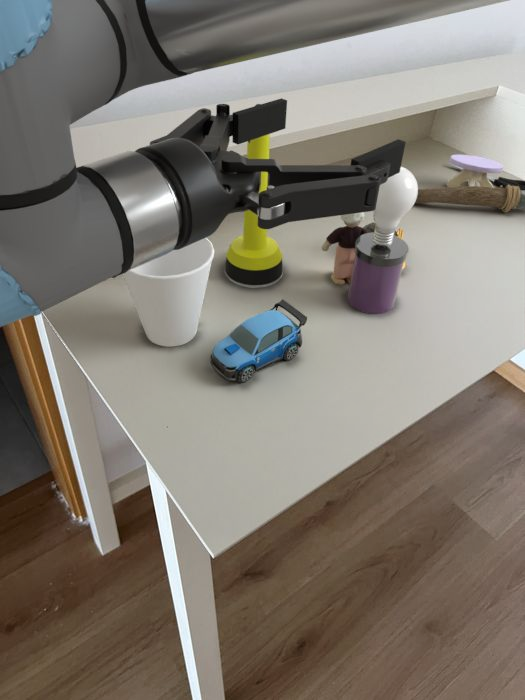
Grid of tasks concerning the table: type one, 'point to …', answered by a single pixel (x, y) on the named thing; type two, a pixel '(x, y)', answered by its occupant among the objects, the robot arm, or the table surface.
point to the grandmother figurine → (345, 246)
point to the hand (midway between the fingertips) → (337, 133)
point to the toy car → (258, 343)
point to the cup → (171, 293)
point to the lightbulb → (393, 205)
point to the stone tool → (475, 196)
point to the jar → (376, 274)
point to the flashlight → (254, 239)
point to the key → (400, 235)
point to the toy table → (473, 170)
